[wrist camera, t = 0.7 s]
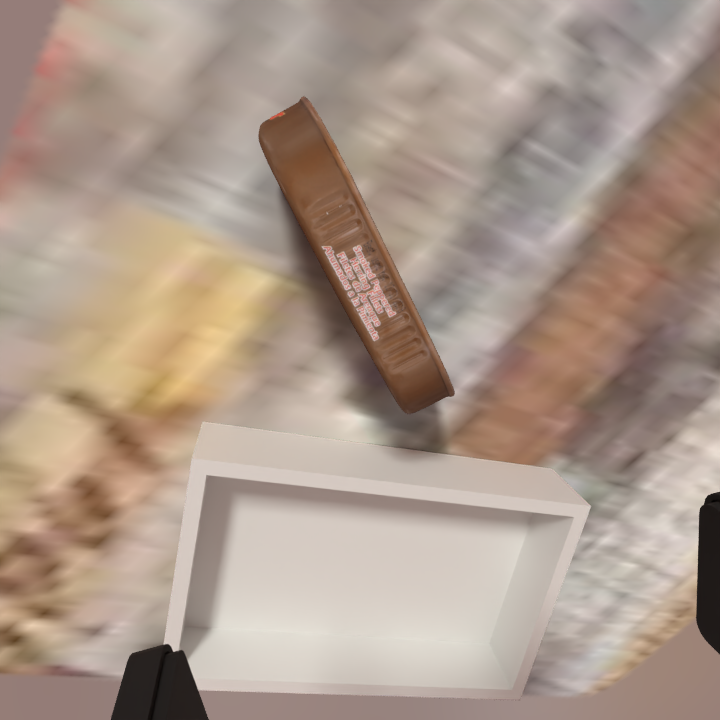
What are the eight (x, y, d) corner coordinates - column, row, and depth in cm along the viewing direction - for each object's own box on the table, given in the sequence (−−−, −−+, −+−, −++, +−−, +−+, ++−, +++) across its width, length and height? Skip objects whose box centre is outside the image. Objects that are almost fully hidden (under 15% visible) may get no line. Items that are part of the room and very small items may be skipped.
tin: (430, 361, 31) (485, 417, 23) (383, 387, 31) (421, 452, 23) (305, 108, 27) (320, 70, 19) (249, 139, 27) (240, 114, 19)
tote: (171, 626, 34) (156, 688, 29) (202, 421, 30) (191, 458, 26) (492, 644, 38) (520, 700, 34) (551, 468, 35) (591, 506, 31)
